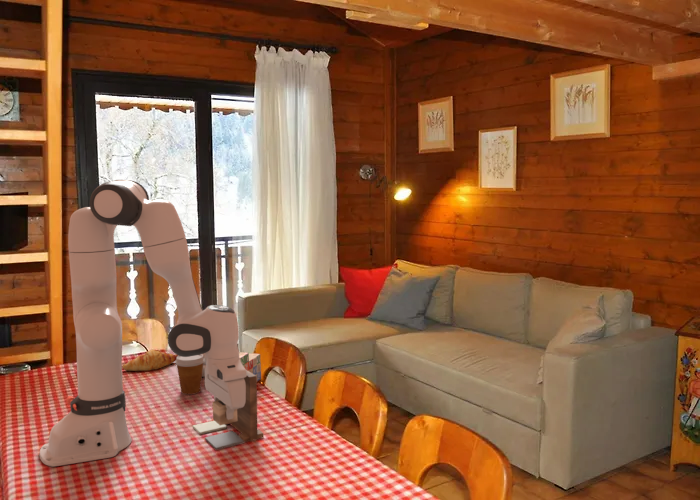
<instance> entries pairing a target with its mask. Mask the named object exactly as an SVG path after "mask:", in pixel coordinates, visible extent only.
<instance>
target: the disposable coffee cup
mask: <svg viewBox="0 0 700 500" xmlns="http://www.w3.org/2000/svg"><path fill="white" fill-rule="evenodd" d="M204 360H205V359H204V358H203V355H202V354H200V355H195V356H190V357H182V356H179V355H178V356H177V358H176V361H175V362H174V363H175V364H176V367H177V373H178V380H179V381H178V382H179V386H180V393H182V394H184V395H194V394H195V395H196V394H198V393H200V392H201V388H202V378H203V377H202V369H203V363H204Z"/></svg>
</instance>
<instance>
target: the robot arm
mask: <svg viewBox="0 0 700 500" xmlns="http://www.w3.org/2000/svg"><path fill="white" fill-rule="evenodd" d="M90 195H91V196H90V198H89V206H85V207H82V208H79V209H77V210H74V212H73V213H71V216H70V218H69V225H68V237H67V239H68V240H67V241H68V243H67V244H68V246H67V247H68V260H69V271H70V272H69V273H70V283H71V284H70V285H71V299H72V301H71V302H72V315H73V316H72V317H73V324H74V330H75V344H76V375H77V376H76V377H77V378H76V379H77V390H78V391H77V392H78V393H77V396H75V397H74V396H73V395H68V396H67V397H66V398H65V401H66V403H67V405H69V406H70V411H69V412H68V413H67V414H66V415H65V416H64V417H63V418H62V419H60V420H59V421H58V422H57V423H55V424H54V425H53V426H52V428H51V429H50V432H49V435H48V436H49V437H48V443H45V444H43V445H42V446H41V447H40V449H39V453H38V454H39V455H38V456H39V459H40V461H41V462H42V463H43V464H44V465H46V466H48V467H52V468H53V467H59V466H66V465H72V464H76V463H78V464H79V463H83V462H84V463H85V462H91V461H97V460H102V459H107V458H114V457H115V456H117V454H119V452H121V451H122V450H124V449H126V448H127V447H129V446H130V444H131V443H132V437H131V435H130V431H129V428H128V423H127V418H126V407H127V406H126V404H127V402H126V401H127V400H126V393H125V390H124V387H123V386H124V385H123V368H122V366H123V362H122V361H123V321H122V319H121V317H120V315H119V312H118V305H117V304H118V301H117V297H118V295H117V280H118V277H117V266H116V265H117V264H116V250H115V237H114V235H115V230H116V228H117V226H124V227H132V226H133V227H135V228H136V230H137V232H138V233H139V234H138V235H139V238H140V240H141V245H142V249H143V252H144V253H143V254H144V256H145V259H146V261H147V264H148V266H149V268H150V269H151V271H152V272H153V273H154V274H156V275H157V276H159V277H161V278H163V279H164V280H165V281H166V282H167V283H168V285H169V286H170V289H171V292H172V296H173V298H174V302H175V306H176V310H177V315H178V316H177V320H176V323H175V324H174V326H172V328H171V329H170V331H169V332H168V334H167V344H168V347H169V349H170V350H171V352H172V353H173V354H174V355H175V354H176V355H178V356H182V357H190V356H195V355H200V354H204V353H205V354H206V368H205V377H204V387H205V390H206V391H207V392H208V393H210V394H211V395H212V396H213V399H214V400H213V401H218V400H220V401H222V402H223V403H224V404H226V408H227V410H226V412H225V417H226V418H227V419H228V420H229V419H233V417H234V416H233V412H234V409H239V408H242V407H244V405H245V401H246V385H245V380H244V378H245V377H246V376H247V373H246V369H245V368H244V366H243V365H242V363H241V360H240V359H239V352H240V350H239V348H238V344H239V338H240V337H239V336H240V335H239V324H238V316H237V314H236V312H235V310H234V309H233V308H231V307H229V306H227V305H222V304H215V305H214V304H211V305H208V306H207V307H205V308H204V309H203V306H202V304H201V302H200V298H199V294H198V291H197V289H196V284H195V281H194V277H193V273H192V267H191V259H190V251H189V247H188V241H187V238H186V234H185V230H184V227H183V224H182V221H181V218H180V216H179V214H178V211H177V210H176V208H175V206H174V204H173V203H172V202H171V201H169V200H165V199H153V200H150V197H149V194H148V191H147V190H146V188H145V187H144V186H143V185H142V184H140V183H139V182H138V181H135V180H128V179H116V180H112V181H107V182H106V181H105V182H103V183H102V184H101V183H100V185H98V186H97V187H96V188H94V189H93V191H92V193H91V194H90Z"/></svg>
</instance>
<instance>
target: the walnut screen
mask: <svg viewBox="0 0 700 500" xmlns="http://www.w3.org/2000/svg"><path fill="white" fill-rule="evenodd" d="M246 373H247V376H246V377H245V378H244V380H245V385H246V401H245V405H244V407H242V408H239V409H237V420H238V421H236V422H232V423H228V424H225V425H226V426H227V425H229V424H230V425H231V426H232V427H233V428H235V430H236V431H238V432H239V434H238V436H239V437H240V438H241V439H243V440H244V443H247V442H254V441H257V440H259V439H261V438H264V432H263V431H262V430H260V429H258V398H257V397H258V395H257V394H258V393H257V391H258V390H257V382H258V381H256V375H254V374H252V373H251V372H249V371H248V370H246Z"/></svg>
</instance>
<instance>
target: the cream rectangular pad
mask: <svg viewBox="0 0 700 500" xmlns="http://www.w3.org/2000/svg"><path fill="white" fill-rule="evenodd" d="M192 428H193V430H195V431H196V432H197V433H198V434H199V435H205V434H210V433H211V432H212V433H213V432H217V431H220V430H225V429H227V428H228V426H227V425H225V424H224V425H219V424H218V423H217V422H216V421H214V420H211V421H210V420H209V421H205V422H202V423H198V424H197V423H196V424H194V425H193V424H192Z"/></svg>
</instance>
